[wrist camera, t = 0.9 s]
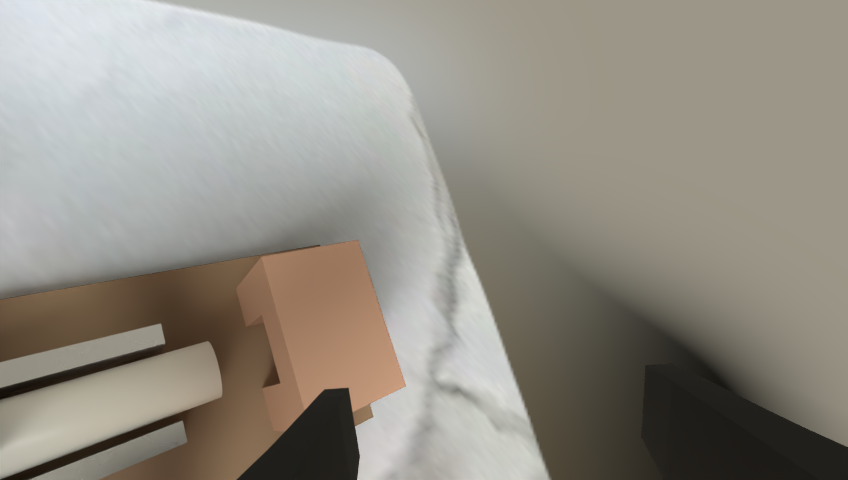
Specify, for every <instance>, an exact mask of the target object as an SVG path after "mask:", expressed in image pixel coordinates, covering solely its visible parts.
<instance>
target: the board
mask: <svg viewBox="0 0 848 480" xmlns="http://www.w3.org/2000/svg"><path fill="white" fill-rule="evenodd" d="M314 247H320V245H316V246H310V247H304V248H298V249H292V250H287V251H281V252H275V253H269V254H263V255H257V256H252V257H246V258H240V259H234V260H228V261H222V262H217V263H211V264H205V265H199V266H193V267H187V268H182V269H176V270H170V271H164V272H158V273H152V274H147V275H141V276H135V277H129V278H123V279H117V280H112V281H106V282H100V283H94V284H88V285H82V286H77V287H71V288H65V289H59V290H53V291H47V292H42V293H36V294H30V295H24V296H18V297H12V298H7V299H1V300H0V362H3V361H8V360H12V359H16V358H20V357H24V356H28V355H32V354H37V353H41V352H45V351H49V350H53V349H57V348H61V347H66V346H70V345H74V344H78V343H82V342H86V341H90V340H95V339H99V338H103V337H107V336H111V335H115V334H119V333H124V332H128V331H132V330H136V329H140V328H144V327H148V326H153V325H157V324H161V326H162V331H163V335H164V339H165V345H164V347H163V349H162V351H160V352H156V353H153V354H149V355H146V356H142V357H139V358H135V359H131V360H128V361H124V362H121V363H117V364H113V365H110V366H106V367H103V368H99V369H96V370H92V371H88V372H85V373H81V374H78V375H74V376H71V377H67V378H63V379H60V380H56V381H53V382H49V383H45V384H42V385H38V386H35V387H31V388H28V389H24V390H20V391H17V392H13V393H10V394H6V395H3V396H0V400H2V399H5V398H9V397H12V396H16V395H19V394H23V393H26V392H30V391H33V390H37V389H40V388H44V387H47V386H51V385H54V384H58V383H62V382H65V381H69V380H72V379H76V378H79V377H83V376H86V375H90V374H93V373H97V372H100V371H104V370H107V369H111V368H114V367H118V366H121V365H125V364H129V363H132V362H136V361H139V360H143V359H146V358H150V357H153V356H157V355H160V354H164V353H167V352H171V351H174V350H178V349H181V348H185V347H188V346H192V345H195V344H199V343H203V342H206V341H209V342H210V344H211V345H212V347H213V350H214V352H215V355H216V358H217V362H218V365H219V370H220V375H221V381H222V397H221V398H218V399H215V400H213V401H210V402H207V403H205V404H202V405H199V406H197V407H194V408H191V409H188V410H186V411H183V412H180V413H178V414H175V415H172V416H170V417H167V418H164V419H162V420H159V421H156V422H154V423H151V424H148V425H146V426H143V427H140V428H138V429H135V430H132V431H129V432H127V433H124V434H121V435H119V436H116V437H113V438H111V439H108V440H105V441H103V442H100V443H97V444H95V445H92V446H89V447H87V448H84V449H81V450H79V451H76V452H73V453H70V454H68V455H65V456H62V457H60V458H57V459H54V460H52V461H49V462H46V463H44V464H41V465H38V466H36V467H33V468H30V469H28V470H25V471H22V472H20V473H17V474H14V475H12V476H9V477H6V478H3V479H1V480H24V479H27V478H30V477H32V476H35V475H37V474H40V473H43V472H45V471H48V470H50V469H53V468H56V467H58V466H61V465H64V464H66V463H69V462H71V461H74V460H77V459H79V458H82V457H84V456H87V455H90V454H92V453H95V452H97V451H100V450H103V449H105V448H108V447H111V446H113V445H116V444H118V443H121V442H124V441H126V440H129V439H131V438H134V437H137V436H139V435H142V434H144V433H147V432H150V431H152V430H155V429H158V428H160V427H163V426H165V425H168V424H171V423H173V422H176V421H183V424H184V428H185V433H186V437H187V443H184V444H182V445H180V446H177V447H175V448H172V449H170V450H168V451H165V452H163V453H160V454H158V455H156V456H153V457H151V458H149V459H146V460H144V461H141V462H139V463H137V464H134V465H132V466H129V467H127V468H125V469H122V470H120V471H118V472H115V473H113V474H110V475H108V476H106V477H103V478H101V479H98V480H236V479H238V478H239V477H240V476H241V475H242V474H243V473H244V472H245V471H246V470H247V469H248V468H249V467H250V466H251V465H252V464H253V463H254V462H255V461H256V460H257V459H258V458H259V457H260V456H261V455H262V454H264V453H265V452H266V451H267V450H268V449H269V448H270V447H271V446H272V445H273V443H274V442H275V441H276V440H277V439H278V438H279V437H280V436H281V435H282V434H283V433H284V431H273V427H272V424H271V420H270V416H269V412H268V408H267V405H266V401H265V397H264V393H263V390H262V388H265V387H267V386H270V385H272V384H275V383H278V382H280V380H279V376H278V372H277V369H276V365H275V361H274V358H273V354H272V350H271V347H270V343H269V339H268V336H267V332H266V328H265V325H264V323H260V324H257V325H253V326H249V327H246V325H245V321H244V318H243V314H242V310H241V306H240V303H239V299H238V295H237V291H236V288H237V287H238V285H239V284H240V283H241V282H242V280H243V279H244V278H245V277H246V275H247V274H248V273H249V272H250V270H251V269H252V268H253V267H254V265H255V264H256V263H257V262H258V260H259V259H260V258H261V257H263V256H268V255H274V254H280V253H286V252H291V251H297V250H303V249H309V248H314ZM372 417H373V414H372V410H371V407H370V404H368V405H366V406H364V407H362V408H360V409H358V410H356V411H354V412H353V418H354V424H355V426H357V425H358V424H360V423H362V422H364V421H366V420H368V419H370V418H372Z"/></svg>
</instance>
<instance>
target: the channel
mask: <svg viewBox="0 0 848 480" xmlns="http://www.w3.org/2000/svg"><path fill="white" fill-rule="evenodd" d="M164 345H165V339H164V335H163V331H162V326H161V324H157V325H153V326H148V327H144V328H140V329H136V330H132V331H128V332H124V333H119V334H115V335H111V336H107V337H103V338H99V339H95V340H90V341H86V342H82V343H78V344H74V345H70V346H66V347H61V348H57V349H53V350H49V351H45V352H41V353H37V354H32V355H28V356H24V357H20V358H16V359H12V360H8V361H3V362H0V396H3V395H6V394H10V393H13V392H17V391H20V390H24V389H28V388H31V387H35V386H38V385H42V384H45V383H49V382H53V381H56V380H60V379H63V378H67V377H71V376H74V375H78V374H81V373H85V372H88V371H92V370H96V369H99V368H103V367H106V366H110V365H113V364H117V363H121V362H124V361H128V360H131V359H135V358H139V357H142V356H146V355H149V354H153V353H156V352H160V351H162V349H163V347H164ZM184 443H187V437H186V433H185V428H184V424H183V421H176V422H173V423H171V424H168V425H165V426H163V427H160V428H158V429H155V430H152V431H150V432H147V433H144V434H142V435H139V436H137V437H134V438H131V439H129V440H126V441H124V442H121V443H118V444H116V445H113V446H111V447H108V448H105V449H103V450H100V451H97V452H95V453H92V454H90V455H87V456H84V457H82V458H79V459H77V460H74V461H71V462H69V463H66V464H64V465H61V466H58V467H56V468H53V469H50V470H48V471H45V472H43V473H40V474H37V475H35V476H32V477H30V478H27V479H24V480H98V479H101V478H103V477H106V476H108V475H110V474H113V473H115V472H118V471H120V470H122V469H125V468H127V467H129V466H132V465H134V464H137V463H139V462H141V461H144V460H146V459H149V458H151V457H153V456H156V455H158V454H160V453H163V452H165V451H168V450H170V449H172V448H175V447H177V446H180V445H182V444H184Z"/></svg>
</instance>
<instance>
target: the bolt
mask: <svg viewBox="0 0 848 480" xmlns="http://www.w3.org/2000/svg"><path fill="white" fill-rule="evenodd" d="M221 397H222V381H221V375H220V370H219V365H218V362H217V358H216V355H215V352H214V350H213V347H212V345H211V344H210V342H209V341H206V342H203V343H199V344H195V345H192V346H188V347H185V348H181V349H178V350H174V351H171V352H167V353H164V354H160V355H157V356H153V357H150V358H146V359H143V360H139V361H136V362H132V363H129V364H125V365H121V366H118V367H114V368H111V369H107V370H104V371H100V372H97V373H93V374H90V375H86V376H83V377H79V378H76V379H72V380H69V381H65V382H62V383H58V384H54V385H51V386H47V387H44V388H40V389H37V390H33V391H30V392H26V393H23V394H19V395H16V396H12V397H9V398H5V399H2V400H0V480H1V479H3V478H6V477H9V476H12V475H14V474H17V473H20V472H22V471H25V470H28V469H30V468H33V467H36V466H38V465H41V464H44V463H46V462H49V461H52V460H54V459H57V458H60V457H62V456H65V455H68V454H70V453H73V452H76V451H79V450H81V449H84V448H87V447H89V446H92V445H95V444H97V443H100V442H103V441H105V440H108V439H111V438H113V437H116V436H119V435H121V434H124V433H127V432H129V431H132V430H135V429H138V428H140V427H143V426H146V425H148V424H151V423H154V422H156V421H159V420H162V419H164V418H167V417H170V416H172V415H175V414H178V413H180V412H183V411H186V410H188V409H191V408H194V407H197V406H199V405H202V404H205V403H207V402H210V401H213V400H215V399H218V398H221Z"/></svg>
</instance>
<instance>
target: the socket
mask: <svg viewBox="0 0 848 480" xmlns="http://www.w3.org/2000/svg"><path fill="white" fill-rule="evenodd" d="M236 291H237V295H238V299H239V303H240V306H241V310H242V314H243V318H244V321H245V325H246V327H249V326H253V325H257V324H260V323H264V325H265V328H266V332H267V336H268V339H269V343H270V347H271V350H272V354H273V358H274V361H275V365H276V369H277V372H278V376H279V380H280V382H278V383H275V384H272V385H270V386H267V387H265V388H262V390H263V393H264V397H265V401H266V405H267V408H268V412H269V416H270V420H271V424H272V427H273V431H284V432H285V431H286V430H287V429H288V428H289V427H290V426H291V425H292V423H293V422H294V421H295V420H296V419H297V418H298V417H299V416H300V415H301V414H302V413H303V412H304V410H305V409H306V408H307V407H308V406H309V405H310V404H311V403H312V402H313V401H314V400H315V399H316V397H317V396H318V395H319V394H320V393H321V392H322V391H323V390H324V389H336V388H349V393H350V399H351V405H352V412H354V411H356V410H358V409H360V408H362V407H364V406H366V405H368V404H370V403H372V402H374V401H376V400H378V399H380V398H382V397H385V396H387V395H389V394H391V393H393V392H395V391H397V390H399V389H401V388H403V387H405V386H406V384H405V381H404V378H403V375H402V372H401V369H400V366H399V363H398V360H397V357H396V354H395V351H394V348H393V345H392V342H391V339H390V336H389V333H388V330H387V327H386V324H385V321H384V318H383V315H382V312H381V309H380V306H379V303H378V300H377V296H376V293H375V290H374V287H373V284H372V281H371V278H370V275H369V272H368V269H367V266H366V263H365V260H364V257H363V254H362V251H361V248H360V245H359V242H358V240H354V241H349V242H343V243H337V244H331V245H326V246H320V247H314V248H309V249H303V250H297V251H291V252H286V253H280V254H274V255H268V256H263V257H261V258H260V259H259V260H258V262H257V263H256V264H255V265H254V267H253V268H252V269H251V270H250V272H249V273H248V274H247V275H246V277H245V278H244V279H243V280H242V282H241V283H240V284H239V285H238V287H237V288H236Z"/></svg>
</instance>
